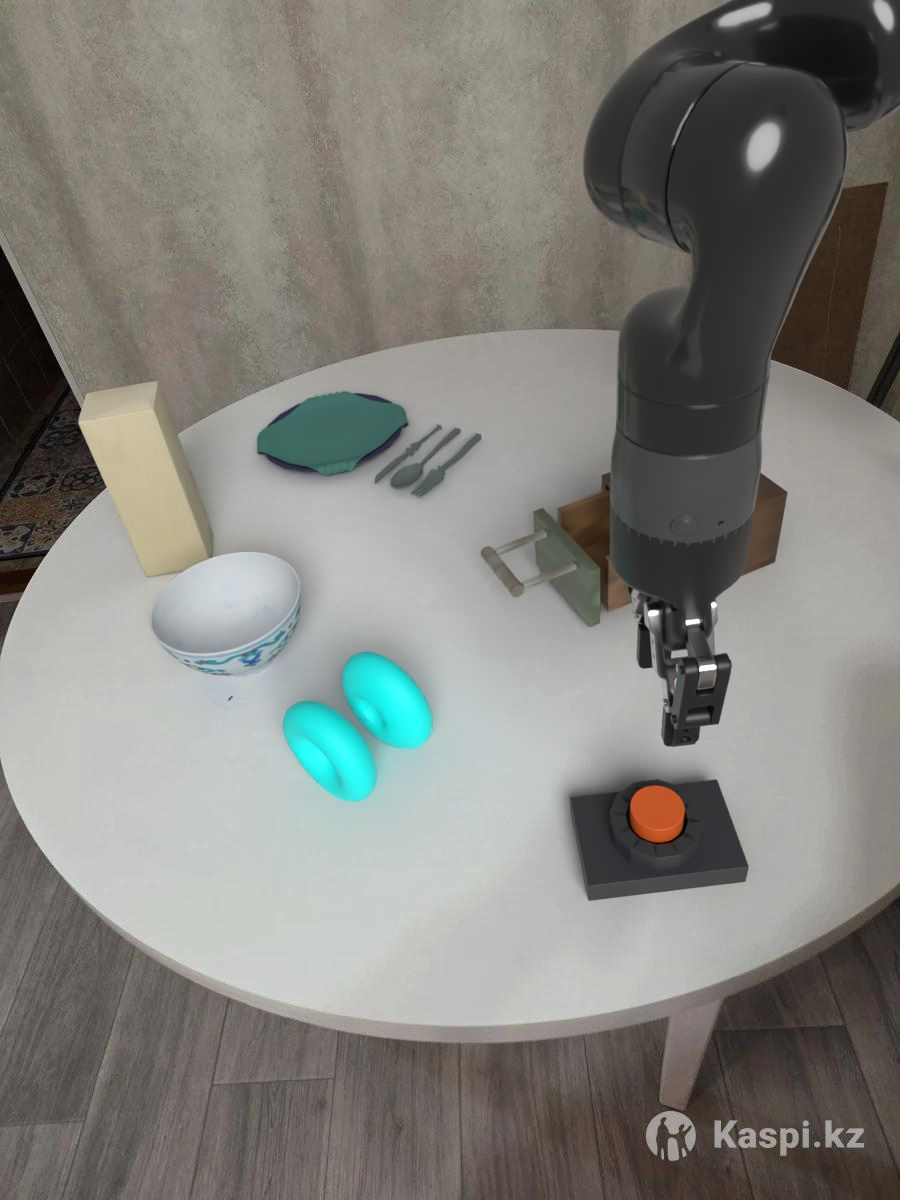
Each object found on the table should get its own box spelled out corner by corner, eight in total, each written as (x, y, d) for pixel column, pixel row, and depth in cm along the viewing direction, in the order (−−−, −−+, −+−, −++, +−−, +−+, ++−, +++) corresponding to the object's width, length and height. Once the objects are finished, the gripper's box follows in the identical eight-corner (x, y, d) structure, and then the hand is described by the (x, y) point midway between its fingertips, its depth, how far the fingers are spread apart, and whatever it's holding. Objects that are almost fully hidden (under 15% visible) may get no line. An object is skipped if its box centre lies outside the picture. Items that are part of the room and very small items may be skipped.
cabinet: (666, 607, 88) (671, 537, 82) (601, 541, 97) (601, 474, 91) (775, 562, 92) (788, 492, 85) (702, 502, 100) (709, 435, 94)
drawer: (526, 653, 85) (521, 599, 80) (476, 587, 93) (469, 534, 88) (695, 584, 89) (701, 528, 84) (634, 526, 97) (636, 472, 92)
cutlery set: (327, 393, 131) (324, 379, 129) (494, 438, 116) (492, 423, 114) (234, 460, 119) (229, 446, 118) (405, 518, 105) (402, 503, 103)
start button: (675, 795, 68) (676, 782, 67) (689, 839, 65) (691, 826, 64) (624, 801, 68) (625, 788, 67) (636, 846, 65) (636, 833, 64)
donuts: (291, 769, 78) (263, 697, 72) (369, 702, 84) (350, 628, 77) (367, 828, 73) (344, 755, 66) (446, 751, 78) (431, 676, 71)
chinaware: (346, 645, 90) (330, 589, 85) (227, 733, 83) (202, 678, 77) (262, 586, 98) (243, 533, 93) (148, 662, 91) (121, 608, 86)
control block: (714, 794, 72) (719, 765, 69) (745, 882, 66) (752, 853, 63) (570, 812, 72) (569, 784, 69) (588, 901, 66) (588, 874, 63)
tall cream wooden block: (215, 529, 108) (158, 376, 94) (213, 565, 102) (152, 408, 88) (152, 541, 107) (85, 389, 93) (146, 578, 102) (74, 423, 88)
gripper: (803, 570, 40) (758, 783, 52) (712, 414, 51) (692, 619, 62) (643, 591, 41) (633, 798, 52) (586, 431, 51) (588, 632, 63)
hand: (665, 699), depth 57 cm, fingers open, 6 cm apart
